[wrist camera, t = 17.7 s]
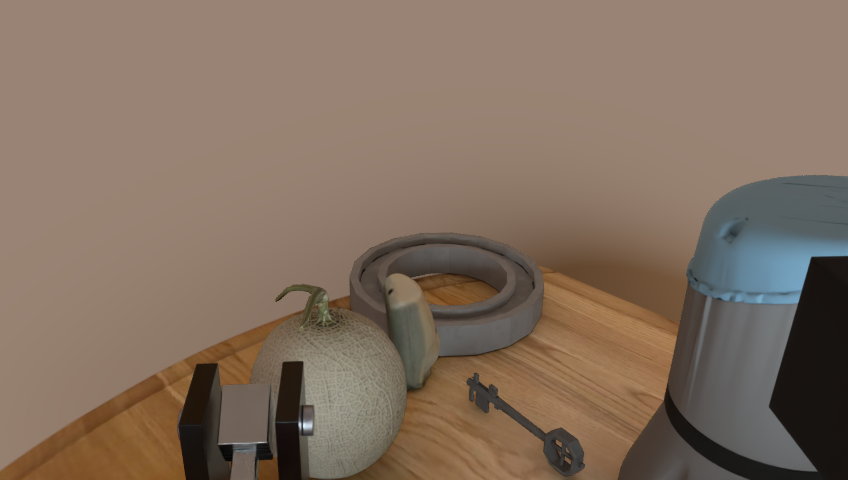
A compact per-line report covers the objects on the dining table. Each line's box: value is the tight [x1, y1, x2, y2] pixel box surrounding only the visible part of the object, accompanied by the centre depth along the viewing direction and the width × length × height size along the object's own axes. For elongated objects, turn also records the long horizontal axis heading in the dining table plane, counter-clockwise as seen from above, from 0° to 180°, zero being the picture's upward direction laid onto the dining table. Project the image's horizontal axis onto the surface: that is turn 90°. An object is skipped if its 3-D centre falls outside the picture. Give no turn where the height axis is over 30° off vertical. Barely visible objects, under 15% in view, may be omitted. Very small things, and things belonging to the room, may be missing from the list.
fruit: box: [250, 284, 407, 479], centre depth 51 cm, size 10×12×15 cm
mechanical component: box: [350, 233, 544, 356], centre depth 73 cm, size 18×18×3 cm
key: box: [467, 373, 585, 476], centre depth 56 cm, size 12×1×3 cm, turn 38°
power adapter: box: [383, 273, 440, 389], centre depth 62 cm, size 6×5×8 cm
